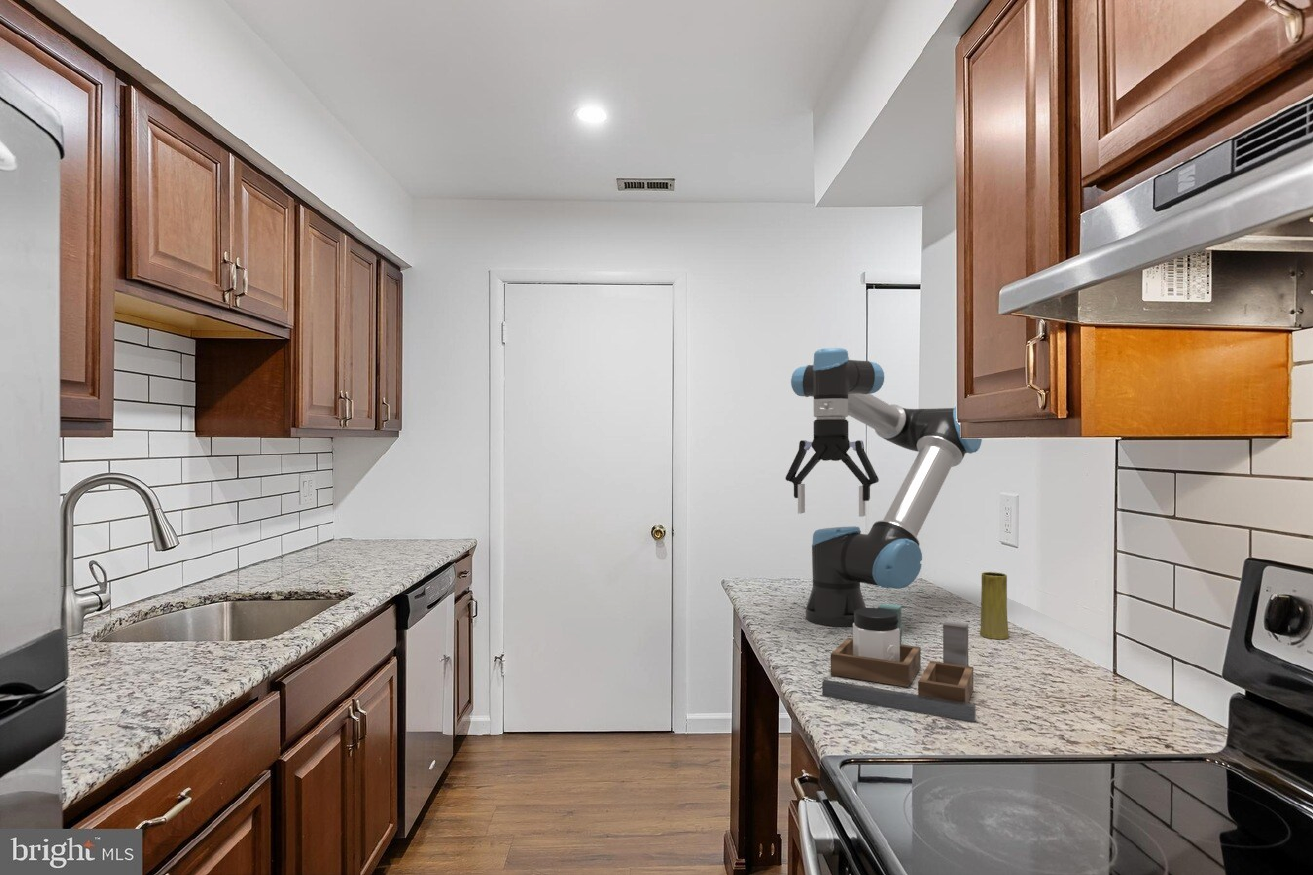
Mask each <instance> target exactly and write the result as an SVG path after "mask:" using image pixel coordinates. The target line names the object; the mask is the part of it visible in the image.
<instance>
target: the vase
mask: <svg viewBox="0 0 1313 875" xmlns="http://www.w3.org/2000/svg"><path fill="white" fill-rule="evenodd" d="M1007 582H1008V576H1007V574H1006V573H1002V572H996V571H993V572H992V571H984V572H981V598H980V600H981V601H980V606H981V607H980V629H979V630H980V631H979V635H980V636H981V637H982V638H986V639H989V640H990V639H992V640H1007V639H1009V637H1010V634H1009V623H1008V605H1007V604H1008V583H1007Z"/></svg>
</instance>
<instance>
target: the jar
mask: <svg viewBox="0 0 1313 875" xmlns="http://www.w3.org/2000/svg"><path fill="white" fill-rule="evenodd" d="M852 638H853V655H854V656H861V657H868V658H875V659H882V660H889V661H896V662H900V629H899V628H898V614H897V613H896V612H894V611H892V610H888V609H882V608H878V607H866V608H860V609H857V610H855V611H854V623H853V626H852Z"/></svg>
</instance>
